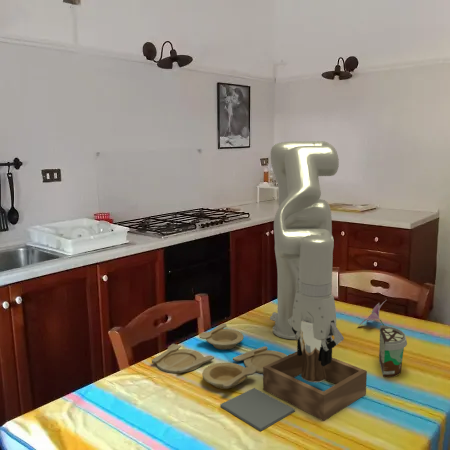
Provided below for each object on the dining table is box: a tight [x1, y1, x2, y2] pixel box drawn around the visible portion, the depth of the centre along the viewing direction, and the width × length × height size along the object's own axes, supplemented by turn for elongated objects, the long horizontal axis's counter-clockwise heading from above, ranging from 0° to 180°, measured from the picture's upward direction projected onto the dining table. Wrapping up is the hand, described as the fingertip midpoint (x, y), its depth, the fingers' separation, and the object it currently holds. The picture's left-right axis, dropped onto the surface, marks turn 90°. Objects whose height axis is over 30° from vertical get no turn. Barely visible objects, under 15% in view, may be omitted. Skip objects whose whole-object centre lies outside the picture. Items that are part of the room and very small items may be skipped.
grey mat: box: [220, 387, 296, 432], centre depth 109 cm, size 13×11×1 cm
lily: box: [357, 299, 387, 328], centre depth 155 cm, size 12×12×10 cm
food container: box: [378, 324, 408, 378], centre depth 126 cm, size 12×6×10 cm, turn 168°
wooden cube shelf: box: [262, 351, 368, 422], centre depth 116 cm, size 18×16×6 cm
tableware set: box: [151, 323, 291, 390], centre depth 133 cm, size 35×29×4 cm
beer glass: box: [300, 319, 328, 383], centre depth 115 cm, size 7×7×15 cm
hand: (314, 358), depth 115 cm, fingers closed on beer glass, 6 cm apart
